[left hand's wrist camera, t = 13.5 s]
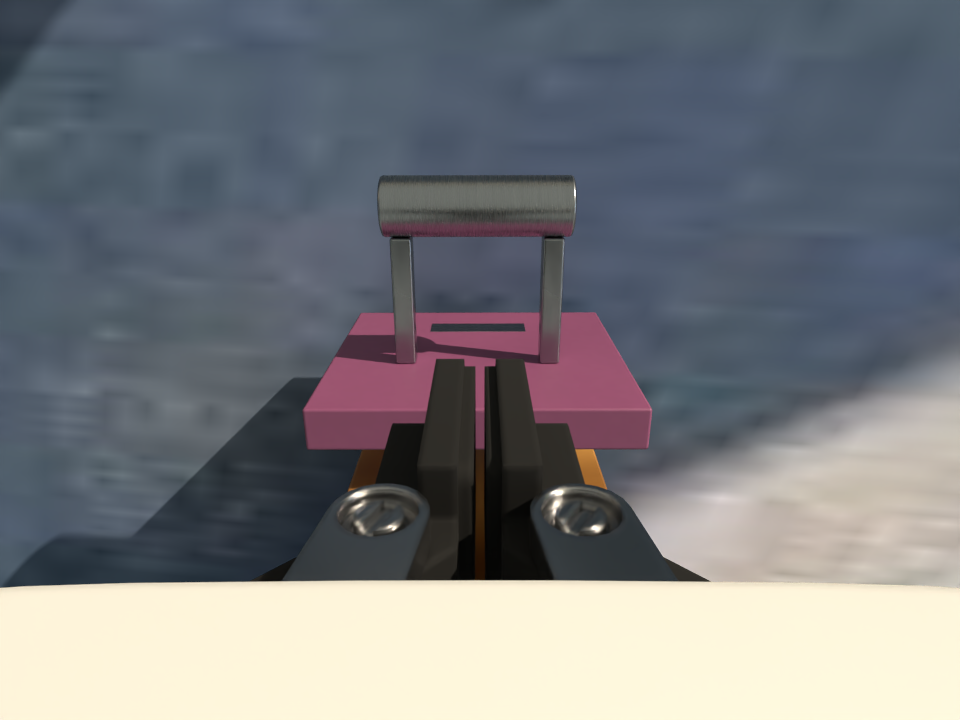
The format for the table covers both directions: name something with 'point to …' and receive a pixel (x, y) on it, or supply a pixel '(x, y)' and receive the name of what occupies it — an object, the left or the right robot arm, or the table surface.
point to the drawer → (476, 334)
